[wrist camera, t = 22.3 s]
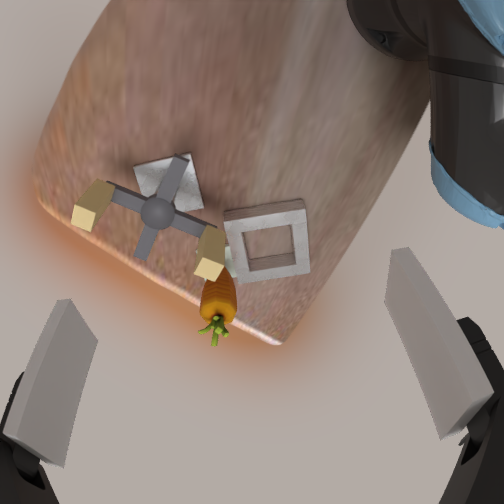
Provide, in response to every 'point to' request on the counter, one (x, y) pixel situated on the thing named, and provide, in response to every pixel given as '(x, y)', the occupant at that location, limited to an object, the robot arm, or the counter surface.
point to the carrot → (218, 304)
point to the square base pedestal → (188, 187)
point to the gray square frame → (267, 218)
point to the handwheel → (156, 217)
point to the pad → (228, 261)
